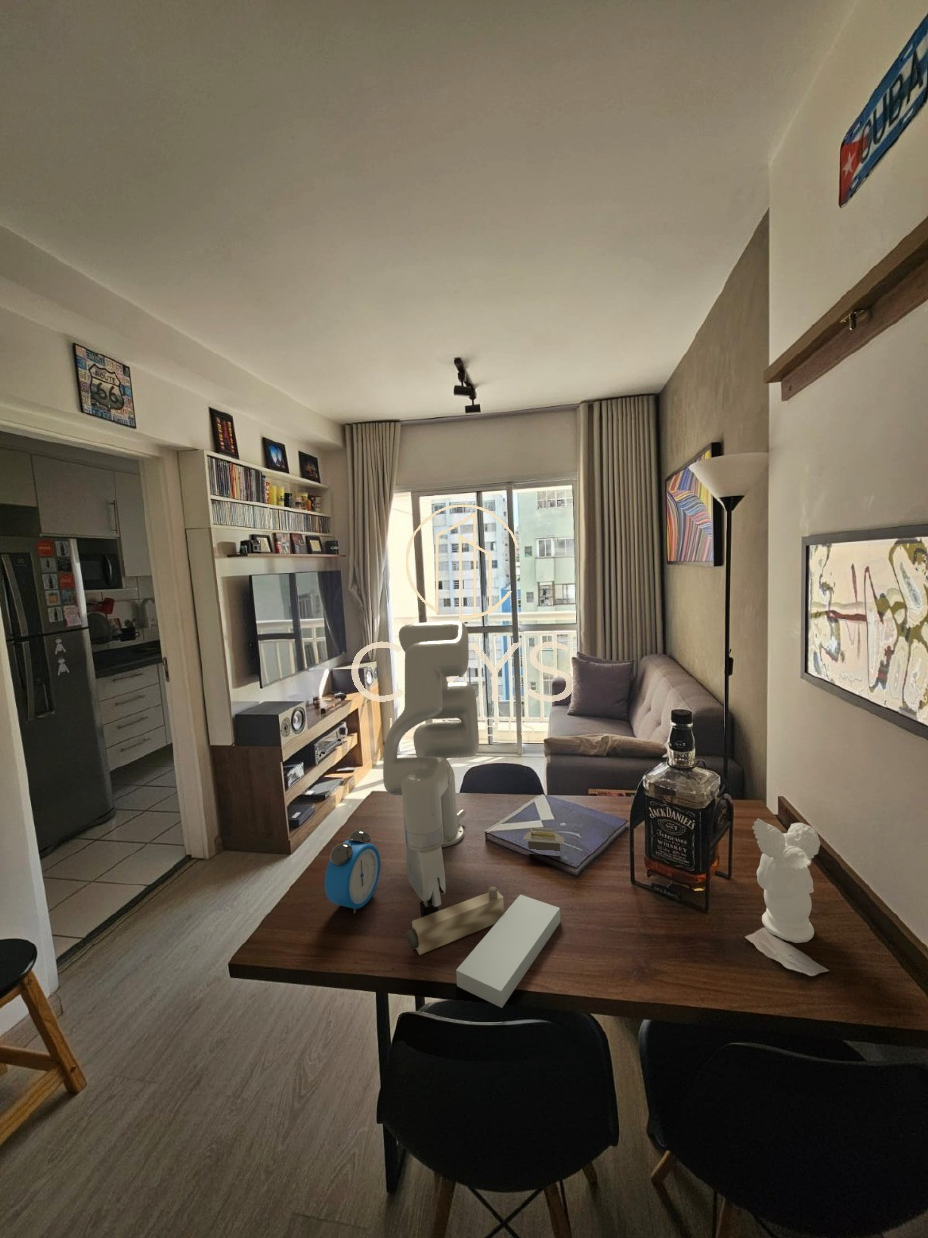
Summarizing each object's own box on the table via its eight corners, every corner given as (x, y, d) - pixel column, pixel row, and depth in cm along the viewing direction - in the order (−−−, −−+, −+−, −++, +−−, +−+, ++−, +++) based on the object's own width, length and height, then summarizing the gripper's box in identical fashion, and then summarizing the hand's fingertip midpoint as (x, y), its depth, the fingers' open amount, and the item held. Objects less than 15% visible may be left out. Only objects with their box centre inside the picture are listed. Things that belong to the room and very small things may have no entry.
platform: (512, 840, 139) (511, 816, 138) (581, 845, 134) (581, 821, 134) (505, 865, 127) (504, 840, 127) (580, 872, 123) (579, 845, 122)
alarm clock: (349, 924, 109) (343, 855, 107) (325, 917, 111) (319, 850, 110) (383, 887, 120) (378, 825, 119) (361, 882, 123) (356, 821, 121)
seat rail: (521, 907, 110) (520, 894, 110) (560, 922, 105) (559, 908, 105) (457, 986, 91) (456, 970, 90) (501, 1008, 86) (500, 991, 85)
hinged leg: (496, 911, 109) (495, 882, 109) (504, 920, 106) (503, 891, 106) (407, 947, 100) (405, 916, 100) (413, 958, 97) (411, 926, 97)
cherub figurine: (807, 915, 104) (811, 809, 101) (841, 962, 91) (846, 843, 89) (742, 910, 106) (744, 807, 103) (766, 955, 93) (769, 839, 91)
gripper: (393, 823, 108) (400, 905, 110) (420, 857, 94) (426, 951, 96) (427, 813, 111) (432, 894, 113) (457, 845, 98) (462, 936, 100)
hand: (429, 920), depth 105 cm, fingers closed
